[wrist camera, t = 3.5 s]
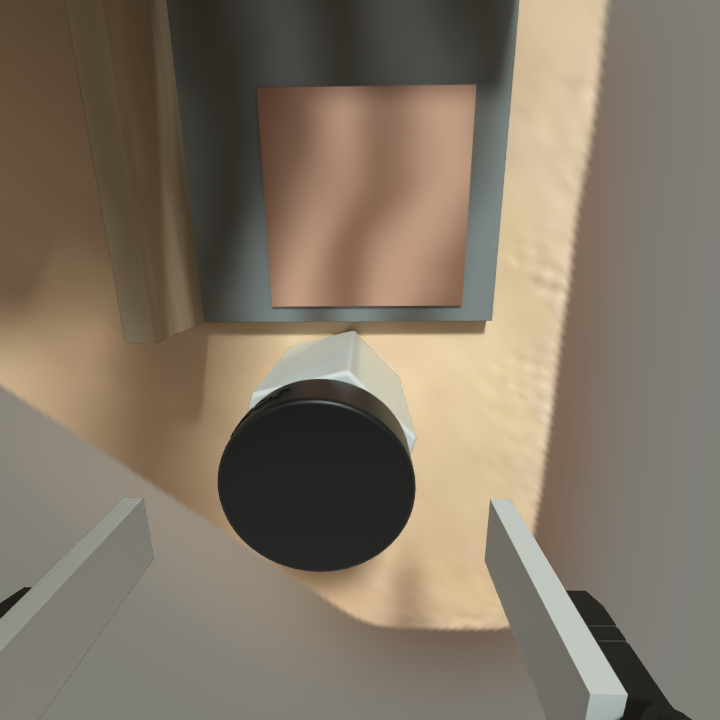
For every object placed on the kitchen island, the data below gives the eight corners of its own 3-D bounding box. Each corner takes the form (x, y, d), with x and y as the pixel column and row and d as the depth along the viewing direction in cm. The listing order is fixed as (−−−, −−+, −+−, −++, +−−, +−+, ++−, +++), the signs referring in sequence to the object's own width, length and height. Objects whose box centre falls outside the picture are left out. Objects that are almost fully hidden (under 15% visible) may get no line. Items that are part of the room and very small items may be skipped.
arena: (188, 319, 26) (125, 343, 19) (139, -54, 20) (28, -205, 14) (486, 318, 25) (530, 341, 19) (518, -62, 20) (595, -220, 13)
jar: (295, 313, 26) (236, 363, 14) (411, 346, 26) (448, 420, 15) (266, 430, 28) (197, 556, 16) (374, 458, 28) (379, 600, 17)
